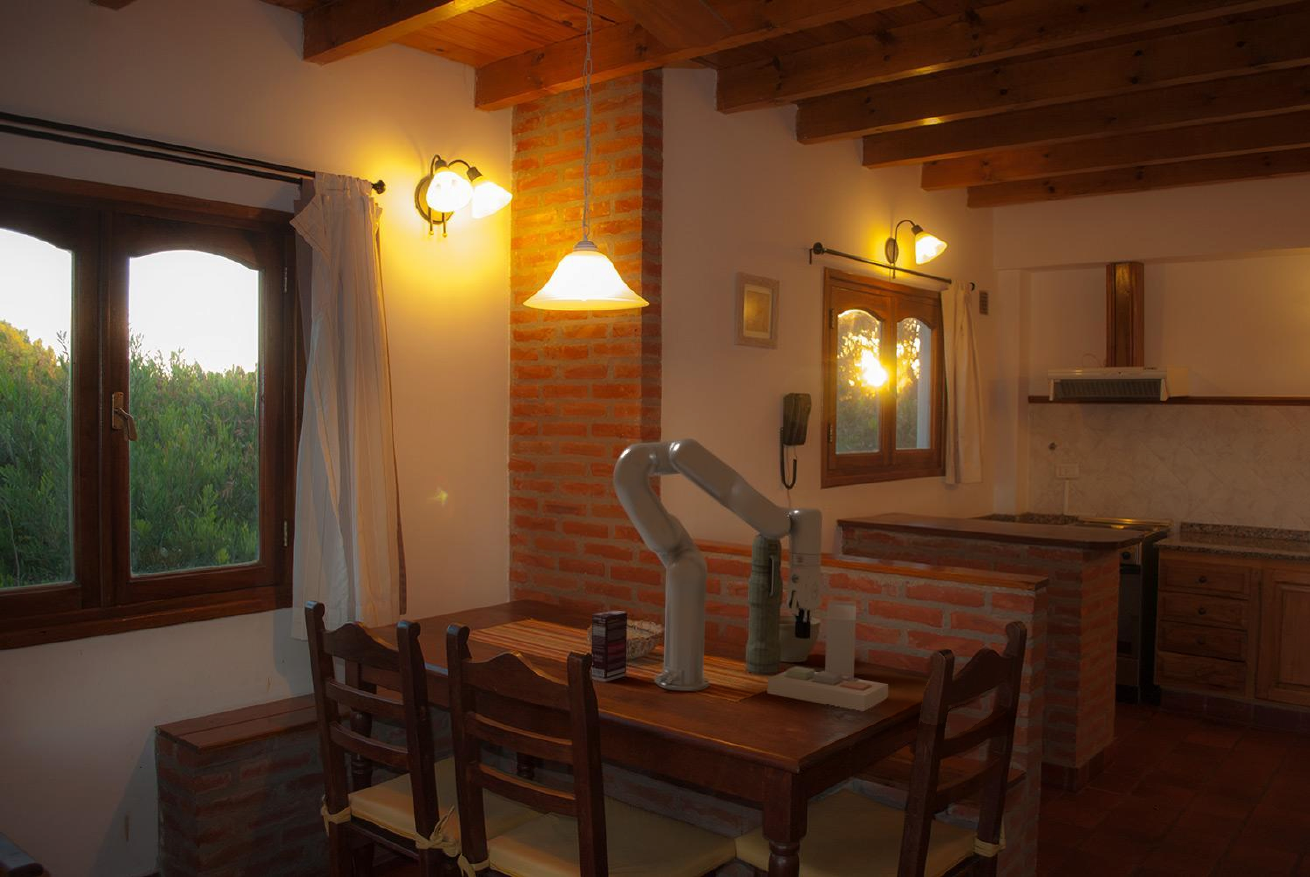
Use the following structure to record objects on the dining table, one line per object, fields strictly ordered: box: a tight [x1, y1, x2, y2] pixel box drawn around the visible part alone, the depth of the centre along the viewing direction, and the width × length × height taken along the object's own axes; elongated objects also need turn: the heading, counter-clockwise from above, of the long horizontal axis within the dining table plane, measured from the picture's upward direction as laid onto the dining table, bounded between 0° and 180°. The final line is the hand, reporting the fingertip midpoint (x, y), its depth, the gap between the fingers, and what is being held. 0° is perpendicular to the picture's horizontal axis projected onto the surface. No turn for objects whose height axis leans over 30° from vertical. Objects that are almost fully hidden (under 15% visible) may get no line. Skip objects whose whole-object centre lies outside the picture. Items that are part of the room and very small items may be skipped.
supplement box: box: [590, 610, 628, 683], centre depth 245 cm, size 9×5×16 cm, turn 145°
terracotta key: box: [841, 681, 871, 691], centre depth 230 cm, size 5×5×2 cm
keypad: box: [766, 671, 889, 712], centre depth 234 cm, size 14×24×4 cm, turn 56°
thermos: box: [745, 533, 784, 676], centre depth 258 cm, size 9×12×35 cm
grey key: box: [813, 670, 842, 686], centre depth 234 cm, size 5×5×2 cm
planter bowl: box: [779, 614, 821, 663], centre depth 273 cm, size 16×16×11 cm
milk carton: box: [824, 599, 857, 678], centre depth 256 cm, size 7×7×19 cm
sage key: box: [785, 665, 816, 681], centre depth 238 cm, size 5×5×2 cm
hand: (802, 637), depth 238 cm, fingers closed
